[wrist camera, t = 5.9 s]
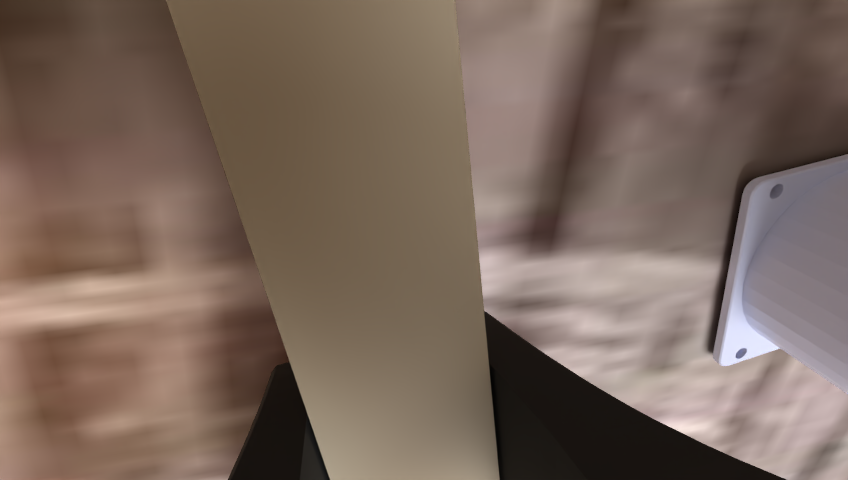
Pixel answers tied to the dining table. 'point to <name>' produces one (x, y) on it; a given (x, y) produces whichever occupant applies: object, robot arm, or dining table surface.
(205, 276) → the dining table surface
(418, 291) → the beige tapered strip
